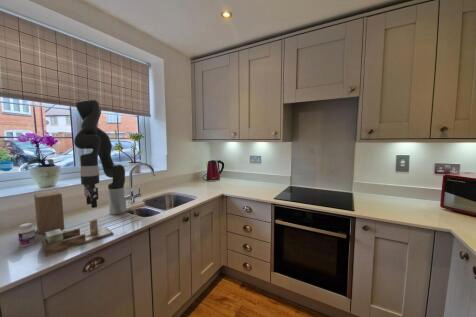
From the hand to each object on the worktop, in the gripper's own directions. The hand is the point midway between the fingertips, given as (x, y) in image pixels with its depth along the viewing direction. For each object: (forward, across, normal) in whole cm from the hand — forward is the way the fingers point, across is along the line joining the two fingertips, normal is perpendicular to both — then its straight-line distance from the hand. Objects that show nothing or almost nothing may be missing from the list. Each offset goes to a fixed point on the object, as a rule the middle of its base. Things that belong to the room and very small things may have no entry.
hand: (91, 205), depth 103 cm
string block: (+15, 0, +8) cm, 17 cm away
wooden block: (+16, +29, +13) cm, 36 cm away
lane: (+16, 0, +6) cm, 17 cm away
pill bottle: (+17, +15, +23) cm, 32 cm away
